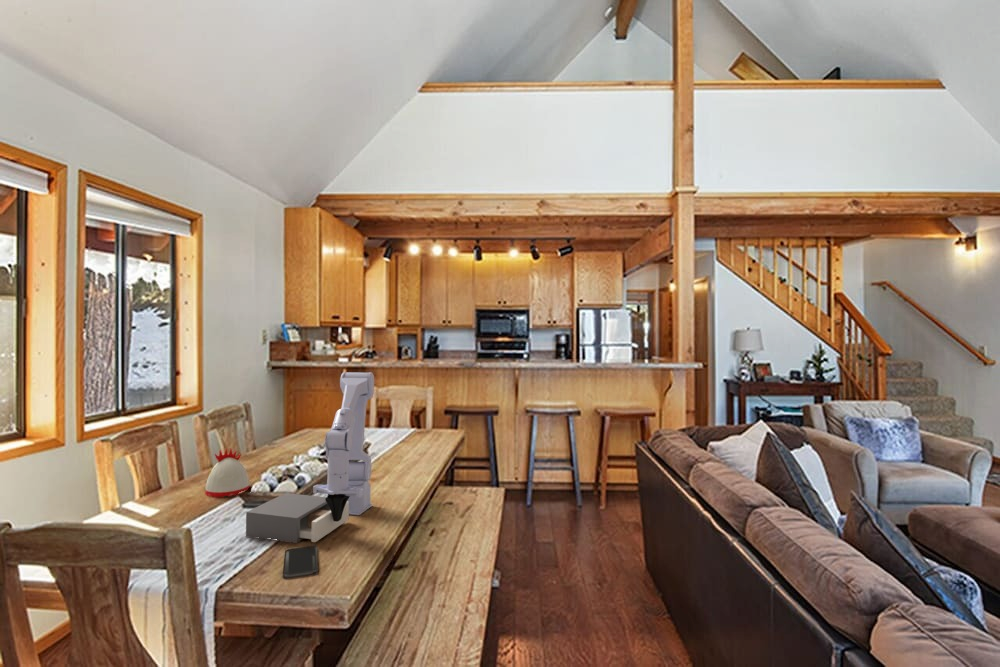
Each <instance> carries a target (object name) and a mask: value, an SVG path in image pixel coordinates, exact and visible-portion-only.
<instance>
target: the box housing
mask: <svg viewBox="0 0 1000 667" xmlns="http://www.w3.org/2000/svg"><path fill="white" fill-rule="evenodd" d="M326 497H327V496H326ZM326 497H325V496H317V495H316V496H315V495H309V494H298V493H288V492H285V493H283V494H281V495H279V496H277V497H275V498H272V499H271V500H268V501H267V502H264V503H262V504H260V505H258V506H256V507H254V508H252V509H250V510H248V511H246V512H245V514H246V516H245V537H246V536H250V537H249V538H254V537H259V538H258V539H261V538H271V539H277V540H280V541H279V542H284V541H285V543H291V542H293V543H292V544H298V543H299V542H301V541H303V540H304V539H305V538H299V534H300V519H301V518H303V517H305V516H307V515H308V514H310V513H312V512H313V511H315V510H317V509H319V510H327V511H330V507H329V505H328V503H327V502H326V500H325V498H326ZM297 542H298V543H297Z"/></svg>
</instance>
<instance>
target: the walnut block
mask: <svg viewBox="0 0 1000 667" xmlns="http://www.w3.org/2000/svg"><path fill="white" fill-rule="evenodd" d="M327 512H328V511H327V510H319V509H317V510H315V511H313V512H312V513H310V514H308V528H311V529H312V521H314V520H315V519H317V518H319V517H320V516H322V515H323V514H325V513H327Z"/></svg>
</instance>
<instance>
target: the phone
mask: <svg viewBox="0 0 1000 667" xmlns="http://www.w3.org/2000/svg"><path fill="white" fill-rule="evenodd" d="M318 562H319V561H318V546H317V545H311V546H303V547H294V548H288V549H285V550H284V557H283V567H282V579H285V580H288V579H294V578H300V577H301V578H302V577H308V576H314V575H316V574H318V572H319V563H318Z"/></svg>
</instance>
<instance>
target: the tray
mask: <svg viewBox="0 0 1000 667" xmlns="http://www.w3.org/2000/svg"><path fill="white" fill-rule="evenodd" d="M349 515H350V514H349V501H347V502H346V505H345V507H344V510H343V513H342V518H341V520H339V521H338V522H336V521H333V516H332V513H331V510H330V511H328V512H327V513H325V514H323V515H322V516H320V517H319V518H317V519H315V520H314V521H312V529H311V528H308V515H307V516H305V517H303V518H301V519H300V534H299V538H304V539H308V540H310V541H311V542H312V543H316V542H319V540H321V539H322V538H324V537H325V536H326V535H328V534H330V533H331V532H332V531H334V530H336V529H337V528H338V527H340V526H341V525H343V524H344V523H346V522H347V521H348V520H349V517H350V516H349Z"/></svg>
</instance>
